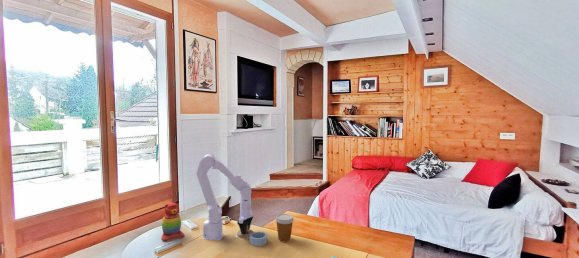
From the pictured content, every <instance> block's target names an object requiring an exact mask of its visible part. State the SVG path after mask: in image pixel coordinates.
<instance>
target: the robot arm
mask: <svg viewBox="0 0 579 258" xmlns="http://www.w3.org/2000/svg"><path fill="white" fill-rule="evenodd" d="M211 168H212V170H219V172H220V173H222V174H223V175H224V176H225V177H226V178H228V181H229V184H230V185H232V186H233V187H234V188H235V189H236V190H237V191H239V193H240V202H239V203H240V205H239V206H240V207H239V208H240V209H239V212H240V213H239V219H238V221H237V222H236V223H237V225H238V228H239V231H241V234H244V235H245V234H246V228H247V226H248V230H251V226H252V225H251V224H252V221H253V218H254V215H253V210H252V198H251V197H252V187H251V185H250V184H249V183H248V182H247V181H245V180H244V179H243V178H242V176H241V175H240V174H237V173H236V174H235V173H233V172H232V171H231V170H230V169H229V168H228V167H227V166H226V165H225V164H224V163H223V162H222V161H221V160H220V159H219V158H217V157H215V156H214V154H212V153H207V154H204V156H203V157H202V158H201V160H200V161H199V163H198V166H197V169H196V170H197V171H196V177H197V180H198V182H199V186H200V188H201V191H202V194H203V197H204V199H205V202H206V205H207V212H208V219H206V220H205V221H204V222H203V225H202V233H203V234H202V236H203V237H202V240H203V239H204V240H211V241H220V240H221V239H223V238H224V236H226V233H224V232H223V227H224V226H223V218H222V214H223V209H222V207H221V206H220V205H219V203H218V201H217V200H216V196H215V194H214V191H213V188H212V185H211V181H210V179H209V176H208V172H209V170H210V169H211Z"/></svg>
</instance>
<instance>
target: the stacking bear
mask: <svg viewBox="0 0 579 258" xmlns="http://www.w3.org/2000/svg"><path fill="white" fill-rule="evenodd" d="M164 213H165V215H164V216H163V217H162V222H161V228H162V235H161V241H162V242H163V243H165V242H171V240H174V239H175V240H176V239H181V238H184V237H185V233H184V232H183V231H182V230H181V227H182V219H181V216H180V214H179V206H178V202H170V203H168V204H167V203H166V204H165V205H164Z"/></svg>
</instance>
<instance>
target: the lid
mask: <svg viewBox="0 0 579 258" xmlns="http://www.w3.org/2000/svg"><path fill="white" fill-rule="evenodd" d="M253 232H254V230H252V229H249V230H248V226H247V228H246V234H245V235H244V234H241V231H240V230H238V231H237V232H236V235H237V236H238V237H241V238H240V239H248V237H250V234H251V233H253ZM238 237H237V238H238Z"/></svg>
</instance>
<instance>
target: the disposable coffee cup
mask: <svg viewBox="0 0 579 258" xmlns="http://www.w3.org/2000/svg"><path fill="white" fill-rule="evenodd" d="M275 217H276V218H275V222H276V229H277V238H278V240H279V241H280V242H281V243H287V242H290V241H291V236H292V229H293V223H294V220H295V219H294V216H293V215H292V214H288V213H280V214H277V215H276V216H275Z"/></svg>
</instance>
